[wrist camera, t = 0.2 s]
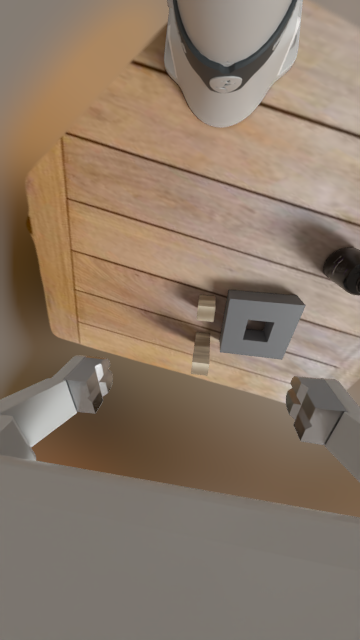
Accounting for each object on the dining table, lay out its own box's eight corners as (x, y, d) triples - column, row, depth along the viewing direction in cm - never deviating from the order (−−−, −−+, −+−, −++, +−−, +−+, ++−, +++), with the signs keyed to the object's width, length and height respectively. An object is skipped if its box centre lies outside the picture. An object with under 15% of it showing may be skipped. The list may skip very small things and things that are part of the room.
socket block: (228, 289, 47) (230, 298, 43) (297, 295, 46) (305, 305, 41) (219, 340, 56) (219, 352, 52) (276, 346, 54) (281, 359, 50)
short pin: (199, 294, 49) (197, 305, 44) (215, 295, 49) (215, 307, 44) (198, 308, 51) (196, 320, 46) (213, 309, 51) (213, 321, 46)
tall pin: (196, 332, 56) (192, 362, 46) (209, 333, 55) (209, 364, 45) (195, 342, 58) (191, 373, 48) (208, 344, 57) (207, 375, 47)
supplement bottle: (320, 255, 40) (355, 274, 30) (359, 240, 38) (412, 256, 28) (323, 283, 43) (356, 309, 33) (360, 272, 41) (408, 296, 31)
